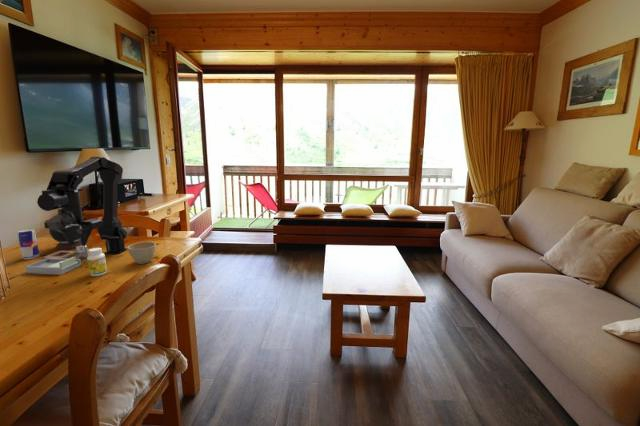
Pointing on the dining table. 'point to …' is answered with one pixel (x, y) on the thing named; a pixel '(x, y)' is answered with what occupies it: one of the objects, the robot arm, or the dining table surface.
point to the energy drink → (28, 244)
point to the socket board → (62, 254)
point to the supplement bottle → (96, 262)
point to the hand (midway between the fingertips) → (77, 245)
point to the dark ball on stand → (63, 242)
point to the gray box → (43, 268)
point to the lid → (65, 263)
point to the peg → (82, 251)
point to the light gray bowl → (142, 252)
